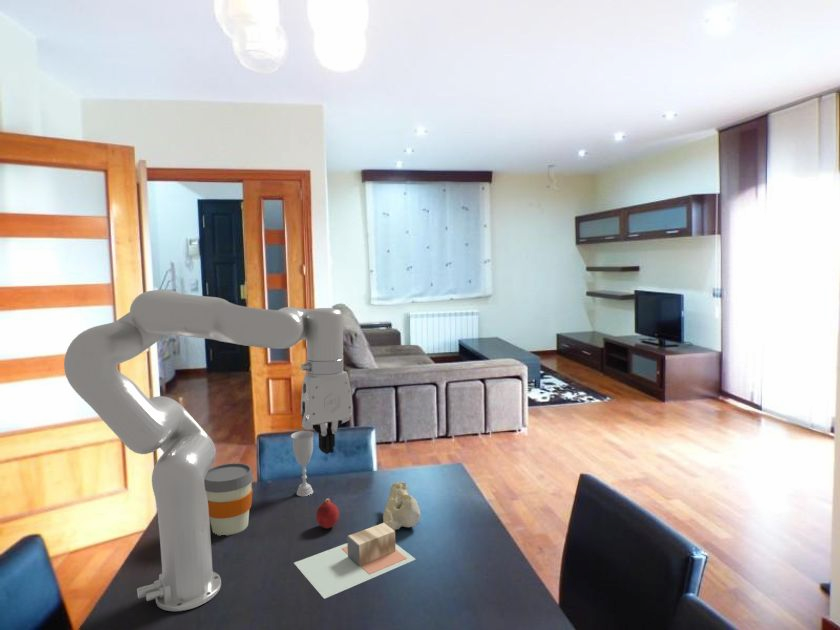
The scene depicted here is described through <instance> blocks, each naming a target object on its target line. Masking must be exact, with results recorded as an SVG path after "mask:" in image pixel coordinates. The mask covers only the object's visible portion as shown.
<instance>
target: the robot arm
mask: <svg viewBox="0 0 840 630" xmlns="http://www.w3.org/2000/svg"><path fill="white" fill-rule="evenodd" d="M343 323H344V319H343V312H342V311H341V310H340V309H338V308H333V307H319V308H317V307H316V308H300V307H295V306H294V307H293V306H292V307H291V306H287V307H286V306H285V307H282V308H280V309H277V310H276V309H268V308H267V309H266V308H256V307H250V306H243V305H238V304H235V303H232V302H229V300H226V299H224V298H221V297H216V296H205V295H196V294H187V293H180V292H178V291H176V290H173V289H168V288H164V289H155V290H153V289H152V290H149V291H147V290H146V291H145V292H141V294H138V296H136V297H135V298H134V299H133V300H132V302H131V304H130V307H129V312H127V313H125V315H123V316H121V317H120V318H119V319H117V320H115V321H113V322H108V323H105V324H100V325H96V326H93V327H90V328H87V329H86V330H83V331H82V332H80V333H79V334H77V335H76V337H75V338H73V340H71V342H70V344H69V346H68V347H67V349H66V352H65V356H64V360H63V361H64V362H63V369H64V374H65V377H66V379H67V382H68V383H69V385H70V386H71V388H72V389H73V390H74V391H75V393H76V394H77V395H78V396H79V397H80V398H81V399H82V400H83V401H84V402H85V403H86V404H87V405H88V406H90V407H91V409H92V410H93V411H94V412H95V413H96V414H97V416H98V417H99V418H100V419H101V420H102V421H103V423H105V424H106V426H107V427H109V429H110V430H111V431H112V432H113V433H114V434H115V435H116V436H117V438H119V439H120V440H119V441H121V442H122V443H123V444H124V445H125V446H126V448H128V449H129V450H130V451H132V452H134V453H135V454H138V455H139V454H140V455H148V454H151V453H154V452H155V451H157V450H158V449H160V450H161V451H162V452H163V454H161V455H160V457H159V458H158V459H157V461H156V462H155V465H154V467H153V470H152V472H151V473H152V474H151V486H152V492H153V495H154V498H155V503H156V510H157V519H158V520H157V523H158V530H159V533H158V534H159V542H160V543H159V544H160V560H161V573H160V574H158V579H157V580H155V581H153V583H151V584H149V585H144V586H140V587H138V588H137V589H136V591H137V592H136V593H137V598H138V599H142V598H145V597H146V602H148V601H149V602H150V601H152V600H155V604H156V605H157V607H158V608H159V609H161V610H163V611H168V612H183V611H187V610H192V609H195V608H198V607H199V606H201V605H203V604H206V603H207V602H209V601H211V600H212V599H213V598H214V597H215V596H216V595H217V594H218V593H219V592H220V590H221V587H222V579H221V576H220V575H219V574H218V573H217V572H215V571H214V570H213V555H212V542H211V541H212V540H211V522H210V517H209V508H208V500H207V495H206V491H205V485H204V479H205V476H206V474H207V472H208V471H209V469H210V468H212V466H213V464H214V462H215V459H216V455H217V449H216V446H215V443H214V441H213V440H212V438H211V436H209V434H208V433H207V432H206V431H205V429H204V428H203V427H202V426H201V425H200V424H199V423H198V422H197V420H195V418H194V417H193V416H192V415H191V414H190V413H189V412H188V411H187V410H186V408H184V407H185V406H183V405H182V404H180V403H179V402H178V401H176V400H175V399H173V398H171V397H167V396H164V395H163V396H153V397H150V398H149V397H148V396H147V395H146V394H145V393H144V392H143V391H142V390H141V388H140V387H139V386H138V385H137V384H136V383H135V382H134V381H133V380H132V379H130V378H129V377H128V376H126V375H125V374H123V373H121V371H120V370H119V369H118V365H121V364H123V363H125V362H128V361H130V360H132V359H134V358H135V357H137V356H139V355H140V354H142V353H143V352H144V351H146V350H148V349H149V348H150V347H152V346H153V345H155V344H156V343H157V342H159V341H161V339H163V338H164V337H166V336H177V337H189V338H196V339H207V340H214V341H218V342H224V343H229V344H232V345H233V344H235V345H239V346H240V345H241V346H248V347H255V348H264V349H265V348H266V349H277V350H278V349H279V350H281V349H282V350H283V349H289V348H292V347H294V346H296V345H297V344H298V343H300V342H301V341H306V359H305V362H306V363H302V364H301V365H300V369H301V371H302V372H303V371H305V372H306V373H305V374H304V375H303V381H302V387H301V395H300V397H301V398H300V399H301V401H300V415H301V419H302V422H301V428H303V429H304V430H313V431H315V432H316V433H318V448H319V449H320V451H321V452H322V453H324V454H325V455H329V454H333V453H334V452H335V451H334V448H335V446H336V444H335V443H336V441H335V440H336V437H335V436H336V435H335V434H337V432H338V429H339V428H340V427H341V425H342V424H345V423H346V422H348V421H350V420H351V419H350V418H351V416H352V414H353V400H352V391H351V383H350V378H349V374H348V372H347V371H346V370H345V371H344V324H343Z"/></svg>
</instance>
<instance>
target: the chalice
mask: <svg viewBox="0 0 840 630" xmlns="http://www.w3.org/2000/svg"><path fill="white" fill-rule="evenodd" d="M314 435H315V432H313V431H311V430H300V431H296V432H293V433H292V434H290V437H291V439H292V452H293V455H294V457H295V460H296V461H297V463H298V464H299V466H301V468H302V470H301V473H302V476H301V479H302V483H301V484H299V486H298V489H297V491H296V495H297V496H298V497H307V496H308V495H309V496H311V495H313V493H314V490H313V488H312V486H311V484H310V483H308V482H307V479H308V476H307V469H306V468H307V467H306V466H307V465H309V463H310V460H311V458H312V455H313V450H314V439H313V438H314ZM310 494H311V495H310Z"/></svg>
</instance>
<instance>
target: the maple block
mask: <svg viewBox="0 0 840 630" xmlns="http://www.w3.org/2000/svg"><path fill="white" fill-rule="evenodd" d="M346 537H347V539H346V540H347V547H348V557H349V558H350V559H351V560H352V561H353V562H354V563H355V564H356V565H357V566H361V565H363V564H366V563H368V562H371V561H373V560H376V559H378V558H380V557H383V556H385V555H388V554H390V553H393V552H395V551H396V549H395V543H396V530H395V531H394V530H393V529H392V528H390V527H389V526H387V525H386V524H385V523H383V522H382V523H379V524H377V525H373V526H371V527H369V528H366V529H362V530H360V531H357V532H355V533H352V534H348V535H346Z"/></svg>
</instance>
